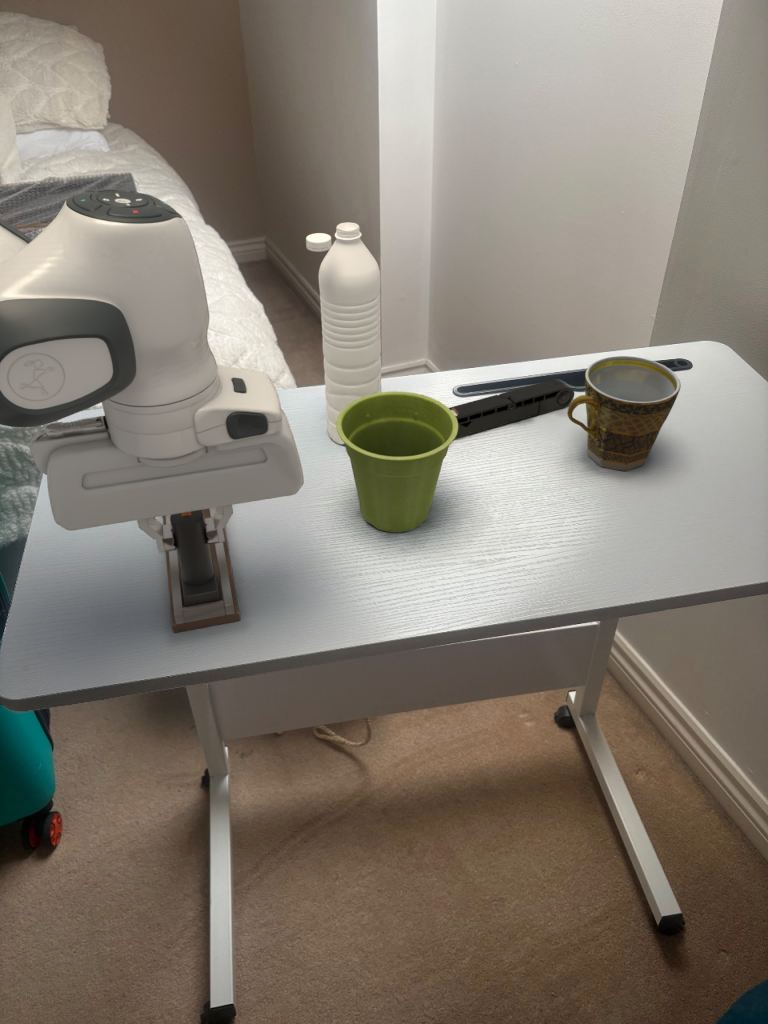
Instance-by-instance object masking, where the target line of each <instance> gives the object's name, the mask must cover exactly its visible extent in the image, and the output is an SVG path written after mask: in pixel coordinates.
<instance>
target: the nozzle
mask: <svg viewBox="0 0 768 1024" xmlns="http://www.w3.org/2000/svg"><path fill="white" fill-rule="evenodd" d="M170 522H171V527H172V531H173V535H174V540H175V544H176V549H177V554H178V558H179V563H180V567H181V575H182V585H183V594H184V601H185V605H186V607H189V606H195V605H200V604H206V603H211V602H217V601H220V596H219V590H218V583H217V576H216V570H215V565H214V559H213V555H211V553H210V548H209V544H208V540H207V535H206V529H205V521H204V515H203V512H202V510H197V511H191V512H185V513H178V514H172V515H171V516H170Z"/></svg>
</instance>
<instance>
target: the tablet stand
mask: <svg viewBox="0 0 768 1024" xmlns="http://www.w3.org/2000/svg"><path fill="white" fill-rule="evenodd" d="M574 399H575V390H574V389H573V388H572V387H571V386H570V385H568V384H567V383H566V382H565V381H563V380H562V379H560V378H553V379H551V380H546V381H542V382H537V383H534V384H530V385H528V386H524V387H520V388H515V389H512V390H508V391H505V392H502V393H500V394H494V395H491V396H487V397H483V398H480V399H476V400H472V401H469V402H464V403H461V404H458V405H454V406H450V407H448V408H449V409H450V410H451V411H452V412H453V413H454V415H455V417H456V418H457V421H458V432H457V435H456V438H455V439H458V438H461V437H465V436H468V435H472V434H476V433H479V432H483V431H486V430H489V429H493V428H496V427H500V426H503V425H507V424H509V423H510V424H511V423H513V422H517V421H521V420H524V419H527V418H535V417H537V416H540V415H544V414H548V413H551V412H554V411H558V410H562V409H565V408H566V407H569V406H570V404H571V402H572V401H573V400H574Z"/></svg>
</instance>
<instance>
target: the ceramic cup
mask: <svg viewBox="0 0 768 1024" xmlns="http://www.w3.org/2000/svg"><path fill="white" fill-rule="evenodd" d="M681 385H682V384H681V380H680V378H679V377H678V375H677V374H676V373H675V372H674V371H673V370H672V369H670V368H669V367H667V366H666V365H664V364H662V363H659V362H657V361H655V360H651V359H648V358H644V357H640V356H639V357H638V356H632V355H631V356H630V355H615V356H609V357H604V358H601V359H598V360H596V361H594V362H592V363H591V364H589V365H588V367H587V368H586V370H585V374H584V394H581V395H579V396H576V397H574V398H573V400H572V402H571V403H570V404H569V405H568V408H567V413H566V414H567V417H568V419H569V420H570V421H571V422H572V423H573V424H574V425H575V424H576V425H577V426H579V427H581V429H583V430H584V431H585V432H586V433H587V449H586V450H587V451H586V453H587V456H588V457H589V458H590V459H591V460H592V461H593V462H595V463H596V464H597V466H599V467H601V468H605V469H612V470H617V471H621V472H626V471H629V470H633V469H635V468H638V467H642V466H643V465H644V464H645V463H646V460H647V459H648V457H649V455H650V453H651V451H652V448H653V446H654V444H655V442H656V440H657V438H658V436H659V434H660V431H661V430H662V427H663V425H664V424H665V422H666V421H667V419H668V417H669V415H670V413H671V411H672V409H673V407H674V405H675V403H676V400H677V398H678V396H679V393H680V391H681V387H682V386H681ZM584 404H585V411H586V425H585V423H583V422H582V421H580V420H578V419H576V418H574V417H573V413H574V411H575V409H576V408H577V407H578V406H581V405H584Z"/></svg>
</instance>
